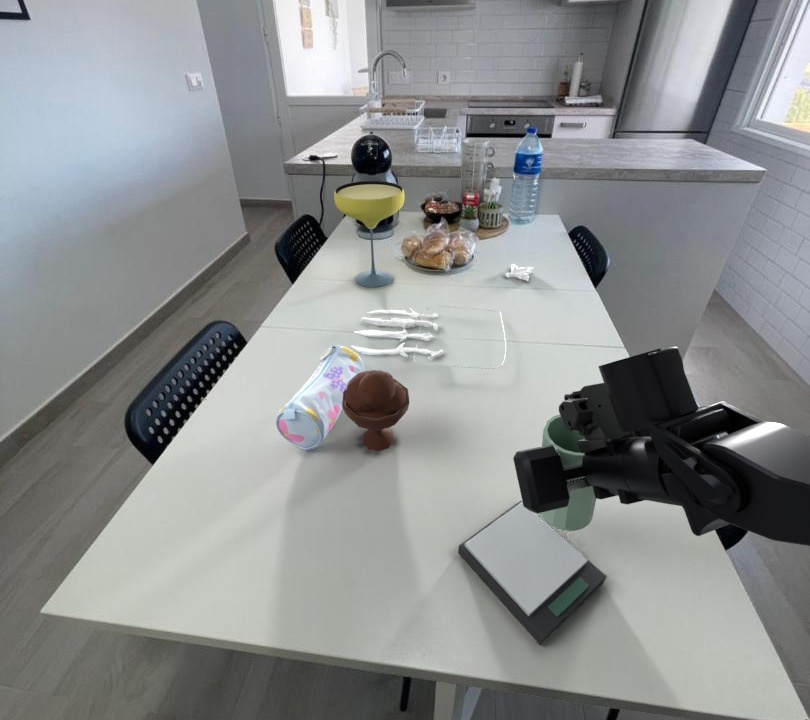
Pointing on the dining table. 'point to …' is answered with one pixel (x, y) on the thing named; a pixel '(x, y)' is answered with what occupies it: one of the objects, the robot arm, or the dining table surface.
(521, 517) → the scale
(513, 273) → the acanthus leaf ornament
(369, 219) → the cocktail glass
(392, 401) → the ice cream bowl
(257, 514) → the dining table surface
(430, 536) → the dining table surface
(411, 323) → the knife set
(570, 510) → the tumbler
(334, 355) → the pencil case
